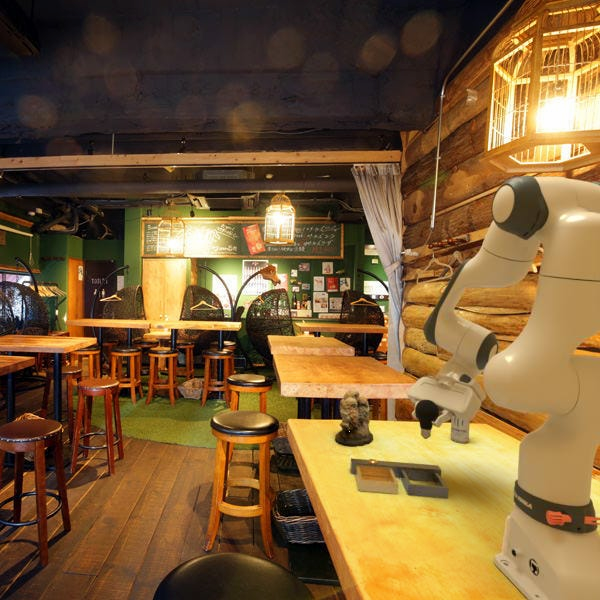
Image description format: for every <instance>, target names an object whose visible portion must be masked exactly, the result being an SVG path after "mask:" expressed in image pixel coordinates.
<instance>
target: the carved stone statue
mask: <svg viewBox="0 0 600 600" xmlns="http://www.w3.org/2000/svg"><path fill="white" fill-rule="evenodd" d="M339 413H340V417H341V422H340V423H339V426H340V428H341V430H340V431H339V432H337V433H336V434H335V436H334V439H335V442H336V443H338V444H339V445H340V444H342V445H345V446H349V447H350V448H351V447H353V448H354V447H355V448H356V447H357V446H359V447H362V446H365V445H366V444H367V445H369V444H370V443H372V442H373V440H374V435H373V433H372V432H371V431H370V427H369V426H370V419H369V416H370V407H369V402H368V398H367V397H366V396H360V392H359V391H358V390H357V389H350V390H347V391H346V392H345V394H344V395H343V398H342V399H340V402H339ZM349 431H350V432H349ZM371 441H372V442H371Z"/></svg>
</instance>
